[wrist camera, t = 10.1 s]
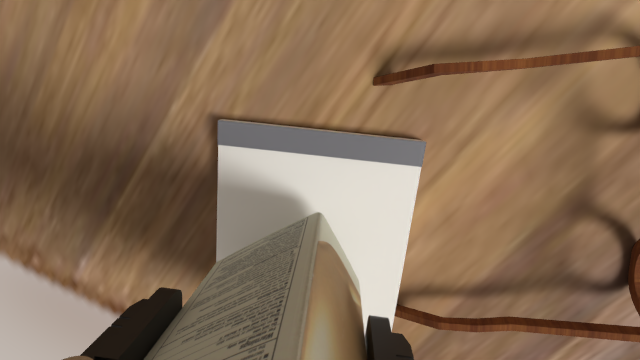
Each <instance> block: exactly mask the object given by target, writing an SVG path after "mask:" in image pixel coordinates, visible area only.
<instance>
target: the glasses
mask: <svg viewBox="0 0 640 360" xmlns="http://www.w3.org/2000/svg"><path fill="white" fill-rule="evenodd" d="M639 56H640V46H634V47H625V48H616V49H607V50H598V51H589V52H580V53H572V54H563V55H554V56H545V57H536V58H527V59H511V60H494V61H478V62H460V63H443V64H432V65H428V66H423V67H419V68H414V69H410V70H405V71H401V72H397V73H392V74H388V75H383V76H379V77H374V86H378V85H393V84H398V83H403V82H409V81H414V80H419V79H424V78H429V77H434V76H439V75H450V74H463V73H475V72H488V71H500V70H513V69H524V68H534V67H543V66H553V65H562V64H572V63H581V62H591V61H601V60H610V59H620V58H629V57H639ZM628 284H629V290H630V294H631V298H632V301H633V303H634V306H635V308H636V310H637V312H638V314H639V316H640V239H639V240H638V241H637V242H636V243H635V245H634V247H633V249H632V253H631V260H630V267H629V273H628ZM394 316H397V317H400V318H403V319H407V320H410V321H413V322H416V323H420V324H423V325H426V326H429V327H433V328H436V329H440V330H454V331H467V332H492V331H521V332H532V333H543V334H554V335H565V336H576V337H587V338H598V339H609V340H621V341H632V342H640V327H631V326H619V325H606V324H594V323H581V322H569V321H556V320H544V319H531V318H519V317H495V318H480V319H471V318H443V317H440V316H436V315H432V314H429V313H425V312H422V311H418V310H415V309H411V308H408V307H404V306H400V305H396V310H395V315H394Z"/></svg>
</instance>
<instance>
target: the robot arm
mask: <svg viewBox="0 0 640 360" xmlns="http://www.w3.org/2000/svg"><path fill="white" fill-rule="evenodd" d="M181 309H182V292H181V290H177V289H170V288H162V287H161V288H159V289H158V290H157V291H156V292H155V293H154V294H153V295H152V296H151V297H150V298H149V299H148V300H147V299H142V300H141V301H139V302H137V303H135V304H133V305H132V306H130V307H129V308H128V309H127V310H126V311H125V312H124V313H123V314H122V315H121V316H120V318H118V319H117V320H116V321H115V322H114V323H113V324H112V325H111V327H108V328H107V329H106V330H105V332H103V333H102V334H101V336H99V337H98V338H97V340H95V341H94V342H93V343H92V344H91V345H90V346H89V347H88V348H87V349H86V350H85V351H84V352H83V353H82V354H81V355H80V356H74V357H69V358H66V359H63V360H144V358H145V357H146V356H147V354H148V353H149V352H150V350H151V349H152V348H153V346H154V345H155V344H156V342H157V341H158V339H159V338H160V337H161V335H162V334H163V333H164V332H165V330H166V329H167V328H168V326H169V325H170V324H171V322H172V321H173V320H174V318H175V317H176V316H177V314H178V313H179V312H180V310H181ZM365 344H366V353H367V360H414V359H413V353H412V349H411V346H410V344H409V343H408V341H407V340H406V339H405V337H404V336H403V335H402V334H398V333H392V332H391V327H390V322H389V318H386V317H379V316H371V315H369V316H368V321H367V327H366V333H365Z"/></svg>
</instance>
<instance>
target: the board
mask: <svg viewBox="0 0 640 360" xmlns="http://www.w3.org/2000/svg"><path fill="white" fill-rule="evenodd" d="M425 147H426V142H425V141H423V140H416V139H407V138H398V137H388V136H379V135H369V134H360V133H350V132H341V131H331V130H322V129H312V128H303V127H293V126H284V125H274V124H265V123H255V122H246V121H237V120H227V119H221V120H218V193H217V247H216V263H217V262H218V261H220V260H222V259H224V258H225V257H227V256H229V255H231V254H233V253H234V252H236V251H238V250H240V249H242V248H244V247H246V246H248V245H250V244H252V243H253V242H255V241H257V240H259V239H261V238H263V237H265V236H267V235H269V234H271V233H273V232H275V231H277V230H279V229H282V228H284V227H286V226H288V225H290V224H292V223H294V222H296V221H298V220H301V219H303V218H305V217H307V216H309V215H312V214H314V213H317V212H320V213H322V214H323V215H324V217H325V219H326V220H327V222H328V224H329V226H330V227H331V229H332V231H333V233H334V234H335V236H336V238H337V240H338V242H339V243H340V245H341V247H342V249H343V251H344V253H345V255H346V257H347V258H348V260H349V262H350V264H351V266H352V268H353V270H354V272H355V274H356V276H357V278H358V280H359V285H360V295H361V305H362V315H363V325H364V334H365V333H366V327H367V321H368V316H369V315H371V316H379V317H386V318H389V322H390V327H391V332H392V326H393V321H394V315H395V310H396V304H397V298H398V293H399V287H400V282H401V276H402V271H403V265H404V260H405V254H406V249H407V243H408V237H409V232H410V226H411V221H412V215H413V210H414V204H415V199H416V193H417V188H418V182H419V176H420V171H421V167H422V164H423V158H424V152H425Z"/></svg>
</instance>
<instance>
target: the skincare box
mask: <svg viewBox="0 0 640 360" xmlns="http://www.w3.org/2000/svg"><path fill="white" fill-rule="evenodd" d="M144 360H367V353H366V344H365V334H364V325H363V315H362V305H361V295H360V285H359V280H358V278H357V276H356V274H355V272H354V270H353V268H352V266H351V264H350V262H349V260H348V258H347V257H346V255H345V253H344V251H343V249H342V247H341V245H340V243H339V242H338V240H337V238H336V236H335V234H334V233H333V231H332V229H331V227H330V226H329V224H328V222H327V220H326V219H325V217H324V215H323V214H322V213H320V212H317V213H314V214H312V215H309V216H307V217H305V218H303V219H301V220H298V221H296V222H294V223H292V224H290V225H288V226H286V227H284V228H282V229H279V230H277V231H275V232H273V233H271V234H269V235H267V236H265V237H263V238H261V239H259V240H257V241H255V242H253V243H252V244H250V245H248V246H246V247H244V248H242V249H240V250H238V251H236V252H234V253H233V254H231V255H229V256H227V257H225V258H224V259H222V260H220V261H218V262H217V263H216V264H215V265H214V266H213V267H212V269H211V270H210V272H209V273H208V274H207V276H206V277H205V278H204V280H203V281H202V282H201V283H200V285H199V286H198V288H197V289H196V290H195V292H194V293H193V294H192V296H191V297H190V298H189V300H188V301H187V302H186V304H185V305H184V306H183V308H182V309H181V310H180V312H179V313H178V314H177V316H176V317H175V318H174V320H173V321H172V322H171V324H170V325H169V326H168V328H167V329H166V330H165V332H164V333H163V334H162V335H161V337H160V338H159V339H158V341H157V342H156V344H155V345H154V346H153V348H152V349H151V350H150V352H149V353H148V354H147V356H146V357H145V358H144Z"/></svg>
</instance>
